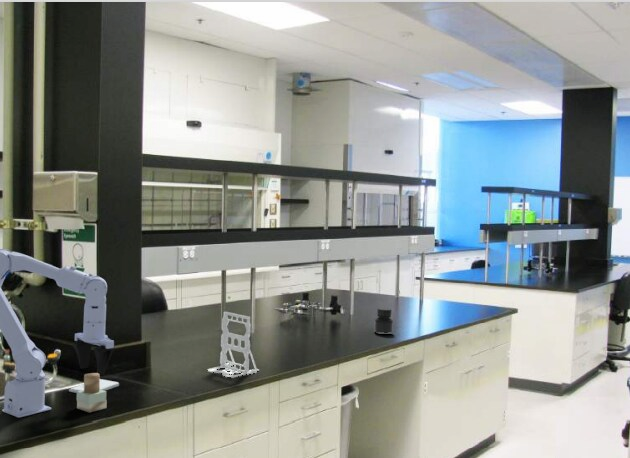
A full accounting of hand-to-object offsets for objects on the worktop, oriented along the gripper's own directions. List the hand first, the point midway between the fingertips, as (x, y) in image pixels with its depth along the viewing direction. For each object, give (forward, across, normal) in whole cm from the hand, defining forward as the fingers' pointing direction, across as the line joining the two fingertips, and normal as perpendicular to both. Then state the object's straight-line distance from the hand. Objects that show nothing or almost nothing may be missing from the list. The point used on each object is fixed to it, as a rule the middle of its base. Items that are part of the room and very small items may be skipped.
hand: (92, 370), depth 174 cm
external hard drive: (+11, +15, -12) cm, 22 cm away
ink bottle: (+11, -5, -161) cm, 161 cm away
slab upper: (+8, 0, 0) cm, 8 cm away
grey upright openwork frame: (+11, -1, -57) cm, 58 cm away
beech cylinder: (+6, 0, 0) cm, 6 cm away
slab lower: (+11, 0, 0) cm, 11 cm away
